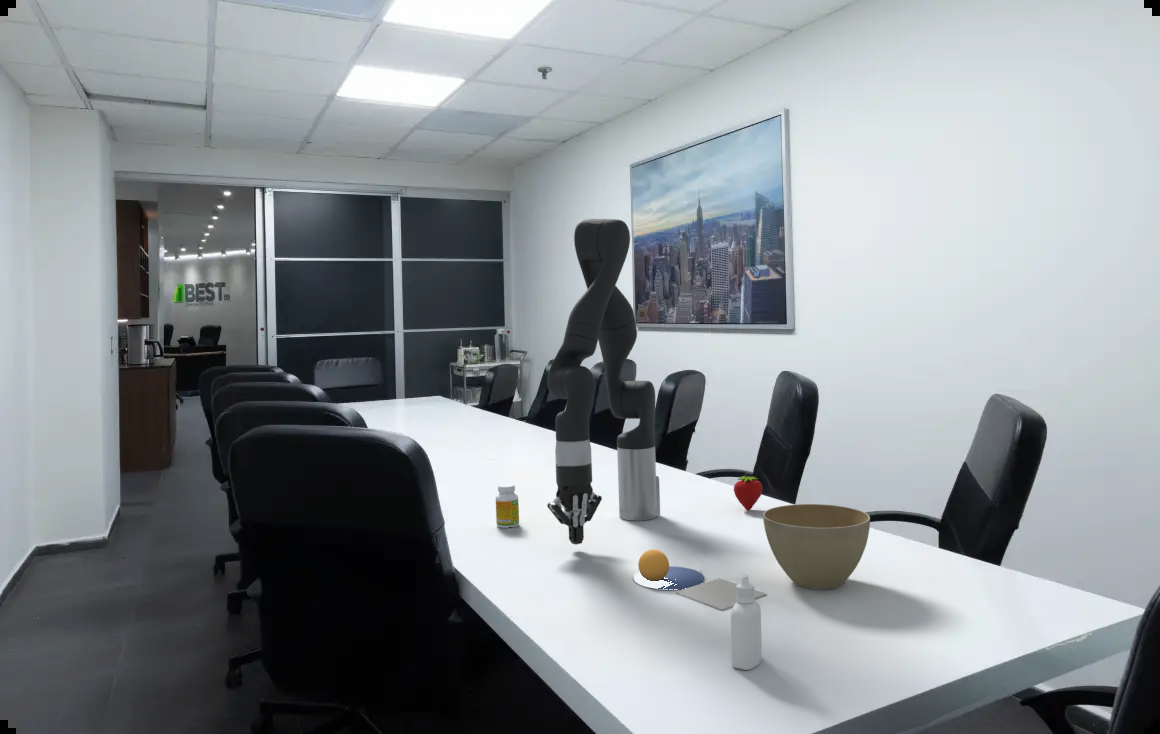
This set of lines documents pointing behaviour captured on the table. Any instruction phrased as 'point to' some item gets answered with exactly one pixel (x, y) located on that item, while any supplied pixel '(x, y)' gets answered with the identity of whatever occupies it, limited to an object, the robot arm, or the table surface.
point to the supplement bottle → (507, 506)
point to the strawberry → (748, 491)
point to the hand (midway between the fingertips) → (576, 543)
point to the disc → (682, 578)
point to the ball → (653, 565)
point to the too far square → (715, 593)
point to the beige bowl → (817, 542)
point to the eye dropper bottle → (746, 628)
